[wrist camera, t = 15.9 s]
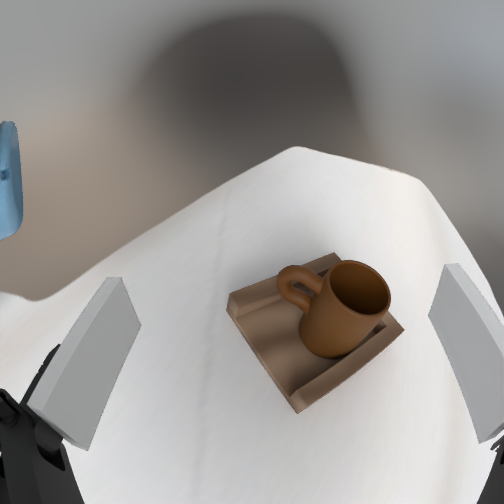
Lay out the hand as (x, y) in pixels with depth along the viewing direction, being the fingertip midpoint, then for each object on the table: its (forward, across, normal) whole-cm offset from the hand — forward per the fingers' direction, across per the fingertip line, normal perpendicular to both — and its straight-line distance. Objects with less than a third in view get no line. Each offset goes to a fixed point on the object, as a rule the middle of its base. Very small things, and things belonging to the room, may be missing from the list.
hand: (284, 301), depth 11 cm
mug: (+16, +3, -19) cm, 25 cm away
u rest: (+17, +4, -20) cm, 26 cm away
